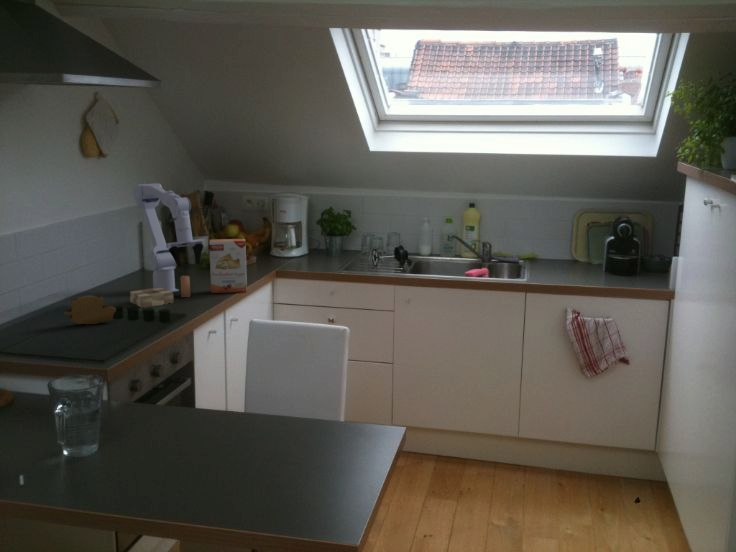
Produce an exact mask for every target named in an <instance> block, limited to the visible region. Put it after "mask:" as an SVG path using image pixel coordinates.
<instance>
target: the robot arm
mask: <svg viewBox="0 0 736 552" xmlns="http://www.w3.org/2000/svg"><path fill="white" fill-rule="evenodd" d="M133 197H134V200H135V202H136V203H135V204H136V205H137V208H140V211H141V213H142V216H143V219H144V222H145V226H146V228H147V232H148V235H149V237H150V241H151V244H152V247H153V248H151V249H150V251H149V252H148V256H149V257H148V258H149V264H150V267H151V268H152V269H153V273H152V287H153V288H160V287H161V288H163V289H166V290H168V291H170V292H173V293H175V292H179V291H180V289H178V288H176V282H175V281H176V279H175V269H176V268H179V267H182V264H181V263H182V262H181V255H180V252H181V249H180V248H182V247H190V246H192V250H193V255H194V260H195V264H196V265H200V263H201V257H202V256H201V255H202V252H203V248H204V245H205V238H199V239H193V233H192V225H191V219H190V211H191V209H192V202H191V200H190V198H189V197H188V196H184V197H182V196H180V195H179V194H176V193H175V192H174V191H173V190H165V189H163V187H162V184H161V183H159V182H155V183H140V184H139V183H137V184H135V186H134V188H133ZM160 202H161V203H162V205H165V206H166V207H167V208H168V209H169V211H170V213H171V217H172V219H173V221H174V227H175V234H176V241H175V242H174V241H173V242H168V243H166V239H165V236H164V234H163V231H162V227H161V224H160V221H159V218H158V216H157V211H156V207H159V205H160Z"/></svg>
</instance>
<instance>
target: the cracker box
mask: <svg viewBox="0 0 736 552" xmlns="http://www.w3.org/2000/svg"><path fill="white" fill-rule="evenodd" d="M208 244H209V264H210V266H209V267H210V271H209V272H210V292H211V294H222V293H223V294H229V293H247V292H248V291H247V290H248V286H247V284H248V280H247V277H248V276H247V253H246V252H247V251H246V250H247V249H246V248H247V247H246V239H245V238H229V239H228V238H226V239H225V238H224V239H223V238H220V239H217V238H214V239H209V243H208Z"/></svg>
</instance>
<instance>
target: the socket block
mask: <svg viewBox="0 0 736 552" xmlns="http://www.w3.org/2000/svg"><path fill="white" fill-rule="evenodd" d="M129 297H130V300H129V301H130V303H132V304H134V305H136V306H138V307H140V308H142V309H144V308H148V307H149V308H150V307H156V306H163V304H164V305H169V304H168V303H171V304H174V303H175V302H174V292H170V291H168V290H166V289H163V288H161V287H160V288H154V287H153V288H145V289H137V290H132V291H131V290H130V291H129ZM143 307H144V308H143Z"/></svg>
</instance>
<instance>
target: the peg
mask: <svg viewBox="0 0 736 552" xmlns="http://www.w3.org/2000/svg"><path fill="white" fill-rule="evenodd" d="M190 278H191V277H190V276H189V275H181V276H180V291H181V292H180V293H181V298H182V297H189V298H191V297H190V296H192V295H191V294H192V293H191V280H190Z"/></svg>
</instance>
